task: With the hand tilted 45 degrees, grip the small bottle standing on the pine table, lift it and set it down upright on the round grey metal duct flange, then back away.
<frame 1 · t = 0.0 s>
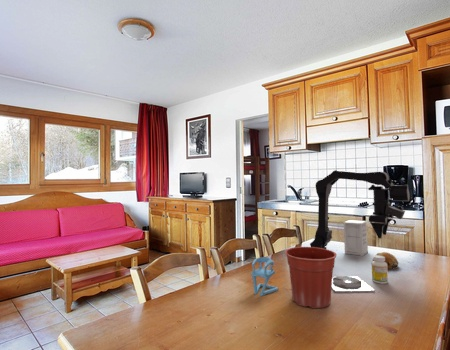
hand: (382, 236, 122), 15 cm above the table, tool pointing down, fingers open, 9 cm apart
supplement box: (356, 253, 151), on the table
bread roll: (386, 266, 127), on the table
duct flange: (346, 284, 107), on the table
flower pot: (311, 301, 94), on the table
supplement bottle: (380, 281, 109), on the table
chair: (263, 291, 103), on the table
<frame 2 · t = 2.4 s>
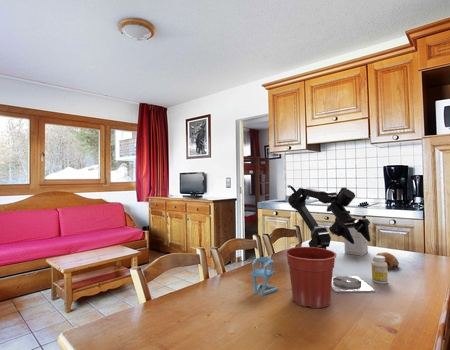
hand: (361, 242, 117), 14 cm above the table, tool tilted 45°, fingers open, 9 cm apart
nothing on the table moved.
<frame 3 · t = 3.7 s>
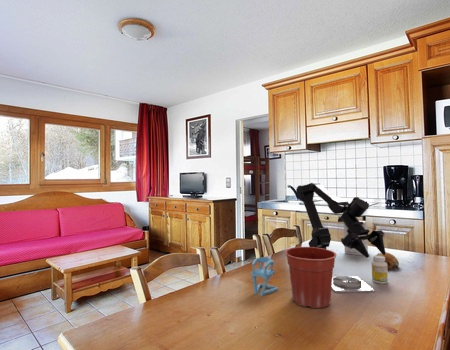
hand: (376, 255, 110), 10 cm above the table, tool tilted 45°, fingers open, 9 cm apart
nothing on the table moved.
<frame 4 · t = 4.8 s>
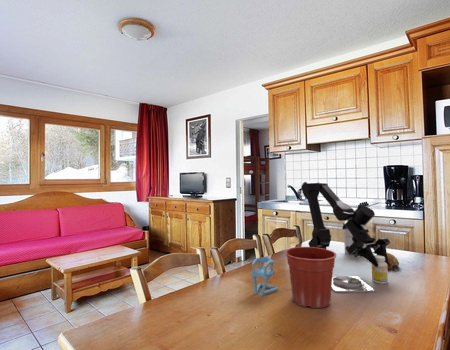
hand: (382, 265, 108), 7 cm above the table, tool tilted 45°, fingers closed on supplement bottle, 5 cm apart
supplement bottle: (380, 281, 109), on the table, touching gripper
everything else where it was.
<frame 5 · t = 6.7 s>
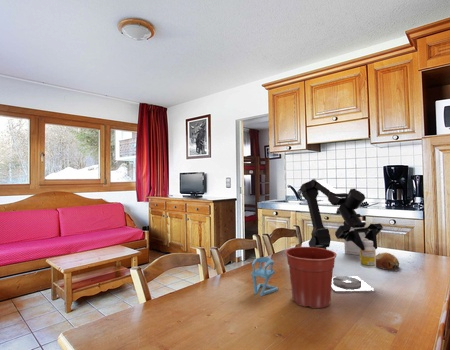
hand: (370, 249, 107), 13 cm above the table, tool tilted 45°, fingers closed on supplement bottle, 5 cm apart
supplement bottle: (368, 266, 108), point 6 cm above the table, touching gripper
everything else where it was.
when the fingers open (9 cm above the table, at t = 8.6 s): supplement bottle stays where it is, resting on duct flange.
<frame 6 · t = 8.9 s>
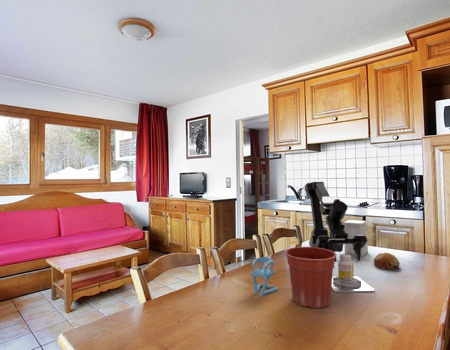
hand: (347, 261, 106), 9 cm above the table, tool tilted 45°, fingers open, 8 cm apart
supplement bottle: (346, 281, 107), point 1 cm above the table, touching duct flange
everything else where it was.
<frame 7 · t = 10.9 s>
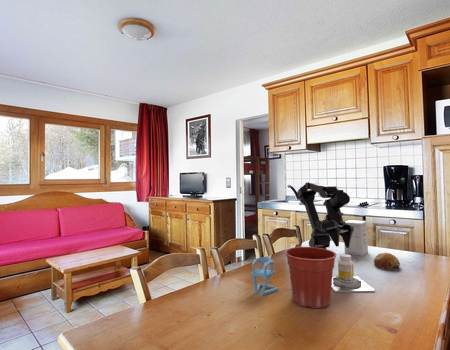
hand: (342, 247, 119), 11 cm above the table, tool tilted 25°, fingers open, 9 cm apart
nothing on the table moved.
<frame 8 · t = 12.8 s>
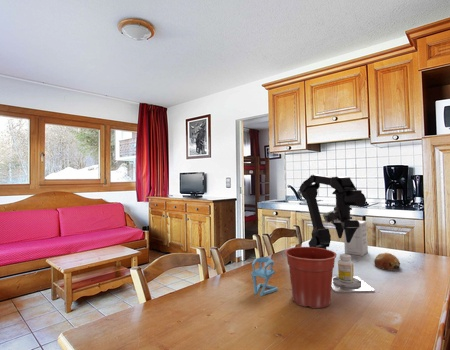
hand: (344, 240, 124), 13 cm above the table, tool pointing down, fingers open, 9 cm apart
at the end: supplement bottle 0.3 cm from the duct flange (horizontally); supplement bottle tilted 0°; supplement bottle point 1.3 cm above the table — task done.
